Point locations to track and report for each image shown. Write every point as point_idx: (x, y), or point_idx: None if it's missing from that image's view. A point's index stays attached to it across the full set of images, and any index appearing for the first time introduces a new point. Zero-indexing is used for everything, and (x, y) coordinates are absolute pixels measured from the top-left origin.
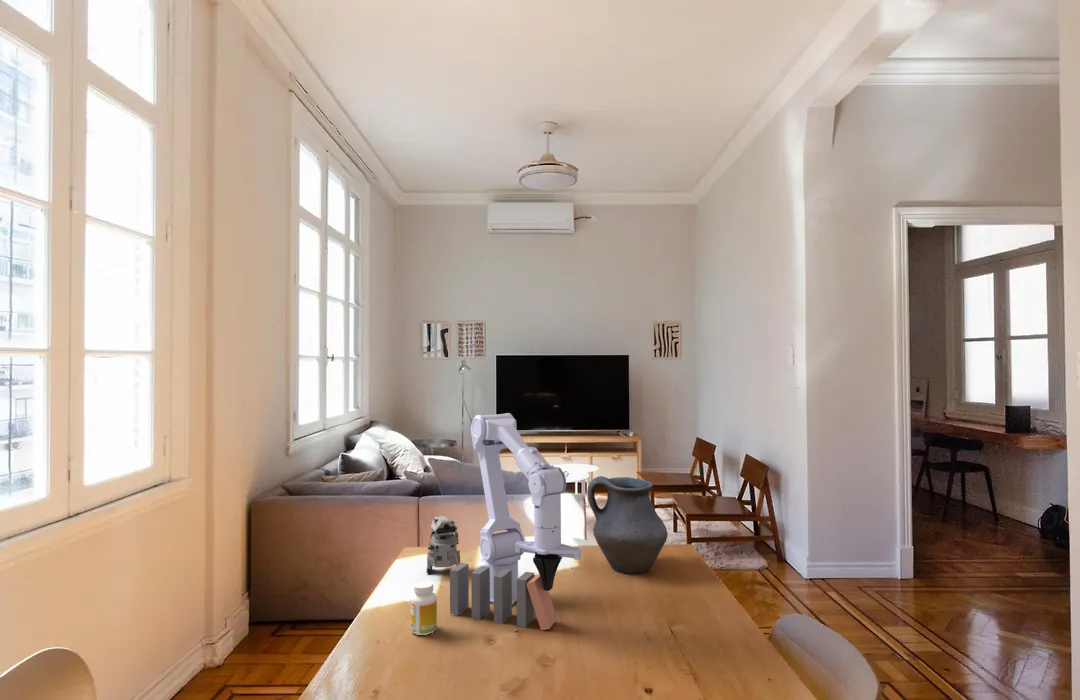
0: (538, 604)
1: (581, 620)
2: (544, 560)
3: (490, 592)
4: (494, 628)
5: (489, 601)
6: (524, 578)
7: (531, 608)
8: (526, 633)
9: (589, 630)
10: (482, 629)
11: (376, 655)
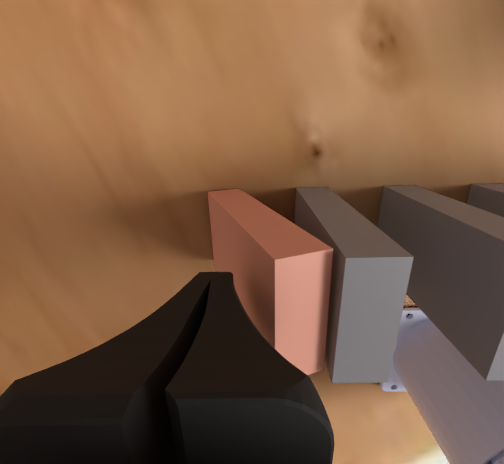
0: (246, 214)
1: (155, 295)
2: (118, 409)
3: None
4: (399, 142)
5: None
6: (362, 287)
7: None
8: (277, 149)
9: (101, 245)
10: (441, 117)
11: None
